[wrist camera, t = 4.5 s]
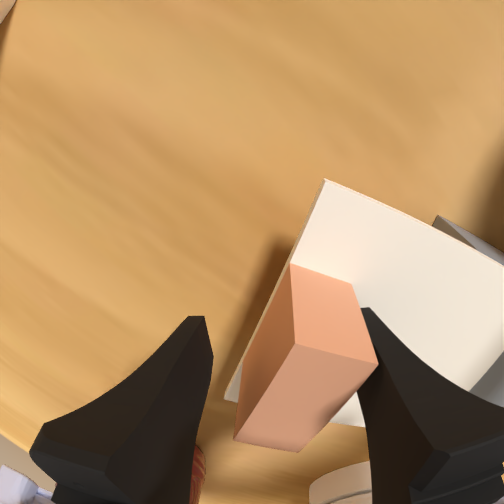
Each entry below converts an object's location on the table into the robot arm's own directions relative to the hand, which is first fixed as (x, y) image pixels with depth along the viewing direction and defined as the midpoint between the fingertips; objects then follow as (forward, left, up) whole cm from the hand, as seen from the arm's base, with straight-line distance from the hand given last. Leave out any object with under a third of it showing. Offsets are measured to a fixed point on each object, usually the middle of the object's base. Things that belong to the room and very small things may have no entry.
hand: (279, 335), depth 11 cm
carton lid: (-4, +4, -1) cm, 6 cm away
